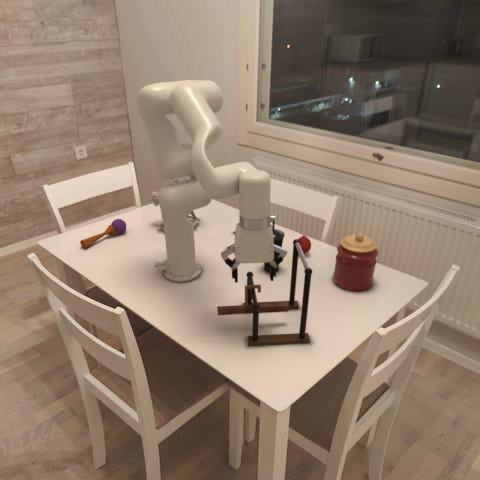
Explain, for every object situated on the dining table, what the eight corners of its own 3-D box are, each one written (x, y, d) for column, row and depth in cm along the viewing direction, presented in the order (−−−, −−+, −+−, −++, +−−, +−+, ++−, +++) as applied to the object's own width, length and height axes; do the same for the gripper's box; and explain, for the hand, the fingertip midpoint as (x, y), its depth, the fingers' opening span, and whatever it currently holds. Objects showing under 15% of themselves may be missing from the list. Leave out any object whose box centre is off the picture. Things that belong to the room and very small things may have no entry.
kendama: (75, 236, 168) (117, 216, 180) (81, 250, 171) (122, 229, 183) (84, 238, 164) (126, 217, 176) (90, 252, 167) (131, 231, 179)
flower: (165, 208, 197) (146, 165, 176) (214, 206, 194) (201, 162, 173) (157, 244, 187) (136, 203, 166) (209, 242, 183) (194, 201, 162)
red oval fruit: (293, 250, 167) (294, 231, 163) (308, 250, 168) (310, 230, 163) (296, 258, 162) (297, 238, 158) (311, 257, 163) (313, 238, 158)
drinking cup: (280, 275, 152) (284, 222, 141) (258, 273, 153) (260, 220, 142) (283, 264, 158) (286, 212, 147) (262, 262, 159) (264, 210, 149)
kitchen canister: (347, 267, 157) (354, 221, 147) (379, 281, 149) (389, 233, 139) (325, 281, 149) (330, 233, 140) (358, 296, 141) (366, 247, 132)
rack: (248, 346, 121) (249, 273, 108) (242, 305, 137) (242, 238, 124) (309, 342, 122) (318, 270, 110) (296, 303, 138) (302, 236, 126)
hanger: (217, 315, 125) (216, 288, 120) (217, 312, 127) (216, 285, 122) (287, 311, 127) (289, 285, 122) (286, 308, 128) (288, 282, 123)
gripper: (286, 213, 115) (283, 271, 124) (219, 216, 114) (221, 273, 123) (291, 225, 109) (287, 285, 118) (220, 228, 108) (222, 288, 117)
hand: (253, 279), depth 120 cm, fingers open, 9 cm apart
